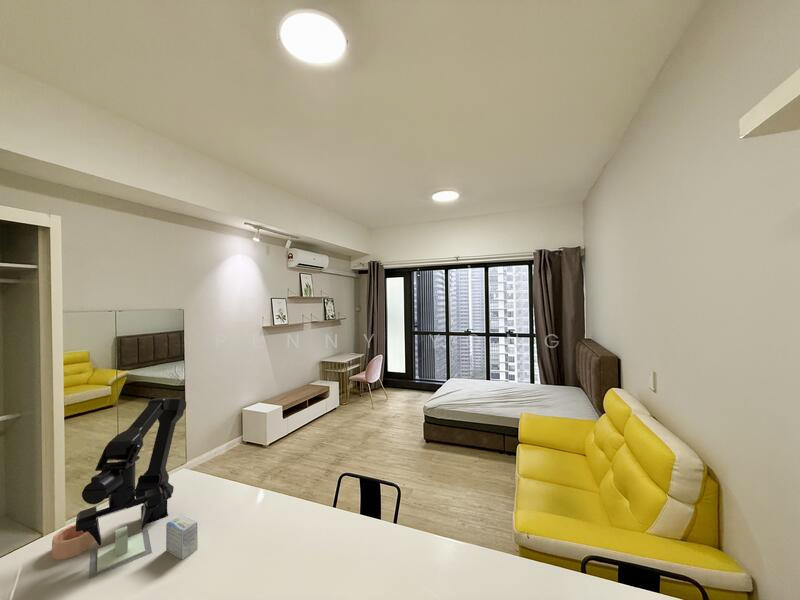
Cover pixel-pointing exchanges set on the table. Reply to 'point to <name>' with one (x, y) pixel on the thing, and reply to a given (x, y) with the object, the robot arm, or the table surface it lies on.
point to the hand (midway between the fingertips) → (121, 536)
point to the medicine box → (181, 536)
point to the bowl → (70, 542)
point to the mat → (94, 559)
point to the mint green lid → (120, 549)
